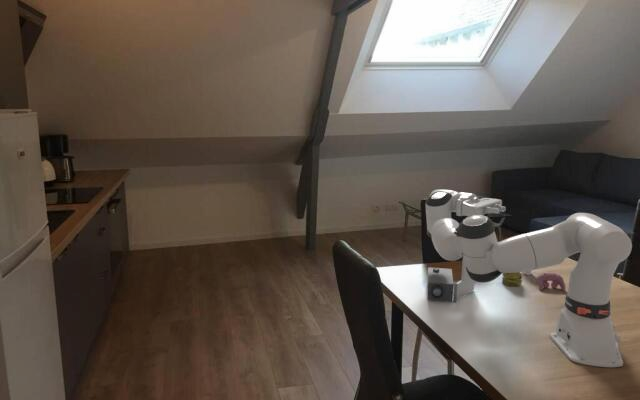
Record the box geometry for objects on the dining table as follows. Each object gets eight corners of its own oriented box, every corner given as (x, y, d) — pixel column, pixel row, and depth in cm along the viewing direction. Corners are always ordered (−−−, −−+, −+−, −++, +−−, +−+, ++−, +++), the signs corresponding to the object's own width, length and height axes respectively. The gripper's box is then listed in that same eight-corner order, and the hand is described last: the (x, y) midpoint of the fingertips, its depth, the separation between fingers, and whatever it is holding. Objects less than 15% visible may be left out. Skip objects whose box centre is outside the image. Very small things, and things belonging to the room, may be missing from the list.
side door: (455, 302, 179) (458, 253, 175) (452, 301, 180) (455, 252, 176) (474, 290, 191) (477, 243, 187) (471, 289, 191) (474, 243, 187)
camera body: (452, 304, 179) (454, 283, 177) (427, 301, 181) (428, 281, 179) (450, 285, 196) (451, 267, 194) (427, 283, 197) (428, 265, 196)
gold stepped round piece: (525, 286, 195) (528, 262, 193) (509, 288, 193) (511, 264, 191) (513, 279, 202) (515, 256, 200) (498, 281, 200) (499, 258, 198)
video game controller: (562, 291, 194) (560, 273, 195) (566, 291, 189) (565, 272, 191) (536, 290, 195) (535, 273, 196) (540, 290, 190) (539, 271, 192)
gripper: (481, 207, 201) (513, 213, 192) (454, 216, 187) (488, 223, 178) (482, 192, 200) (515, 198, 190) (455, 200, 186) (489, 206, 176)
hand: (501, 210), depth 184 cm, fingers open, 3 cm apart
